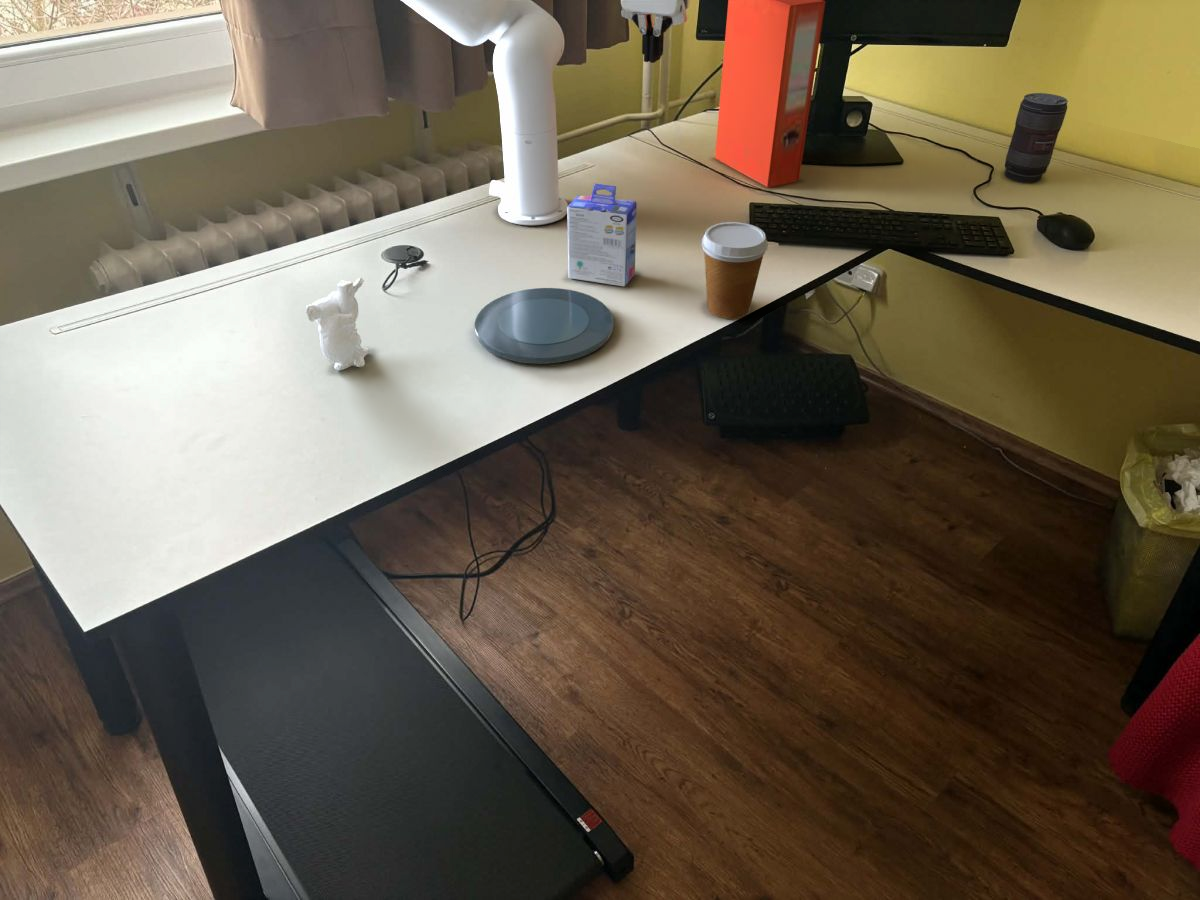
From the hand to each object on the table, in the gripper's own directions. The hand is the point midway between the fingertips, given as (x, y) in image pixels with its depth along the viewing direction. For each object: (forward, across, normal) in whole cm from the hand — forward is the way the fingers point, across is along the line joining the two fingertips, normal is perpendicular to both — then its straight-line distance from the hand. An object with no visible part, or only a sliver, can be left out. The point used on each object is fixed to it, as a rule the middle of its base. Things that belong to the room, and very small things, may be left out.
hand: (652, 60), depth 144 cm
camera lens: (+27, -58, -50) cm, 81 cm away
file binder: (+27, -10, -31) cm, 43 cm away
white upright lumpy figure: (+27, +18, +61) cm, 69 cm away
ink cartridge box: (+27, -2, +23) cm, 36 cm away
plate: (+27, -2, +42) cm, 50 cm away
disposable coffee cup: (+27, -24, +24) cm, 44 cm away
